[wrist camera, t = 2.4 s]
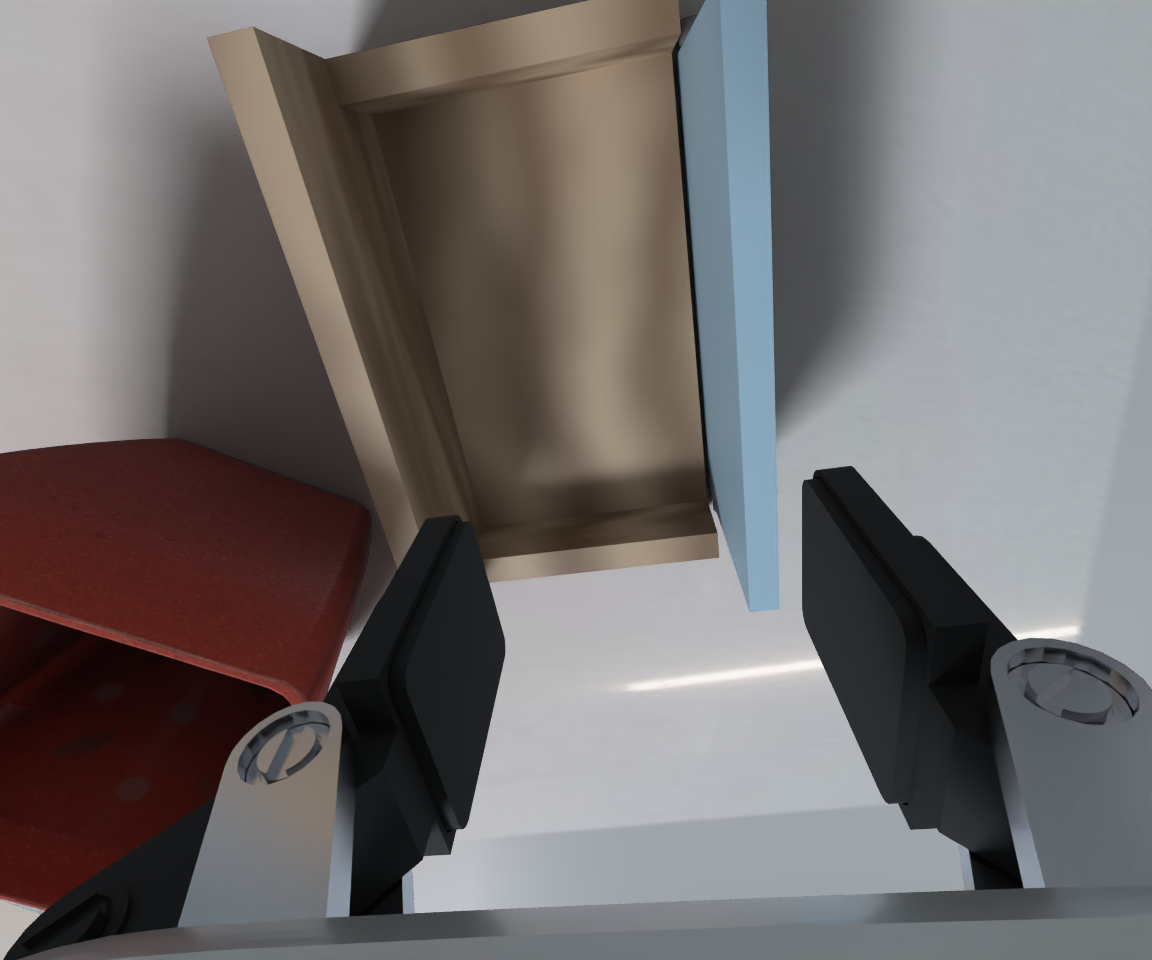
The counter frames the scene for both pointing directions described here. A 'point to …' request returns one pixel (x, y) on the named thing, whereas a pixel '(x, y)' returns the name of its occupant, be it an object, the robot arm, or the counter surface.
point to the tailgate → (734, 276)
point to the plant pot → (150, 638)
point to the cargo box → (497, 275)
